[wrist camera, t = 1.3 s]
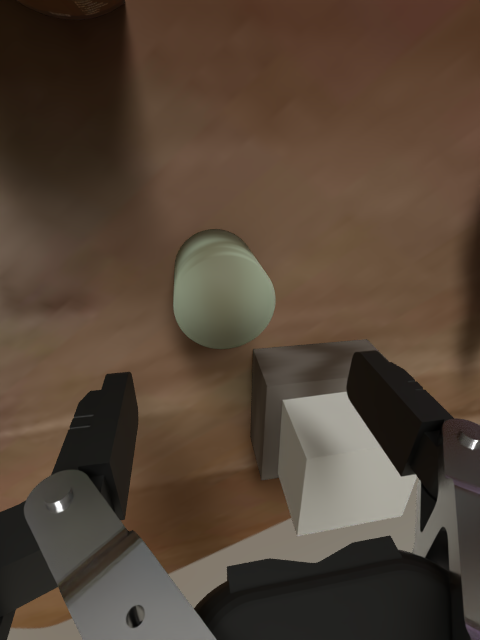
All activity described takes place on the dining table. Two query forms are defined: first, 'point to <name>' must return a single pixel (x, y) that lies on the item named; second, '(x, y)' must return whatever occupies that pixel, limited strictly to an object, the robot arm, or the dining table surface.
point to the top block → (335, 467)
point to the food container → (73, 8)
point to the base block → (293, 388)
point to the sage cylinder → (221, 291)
